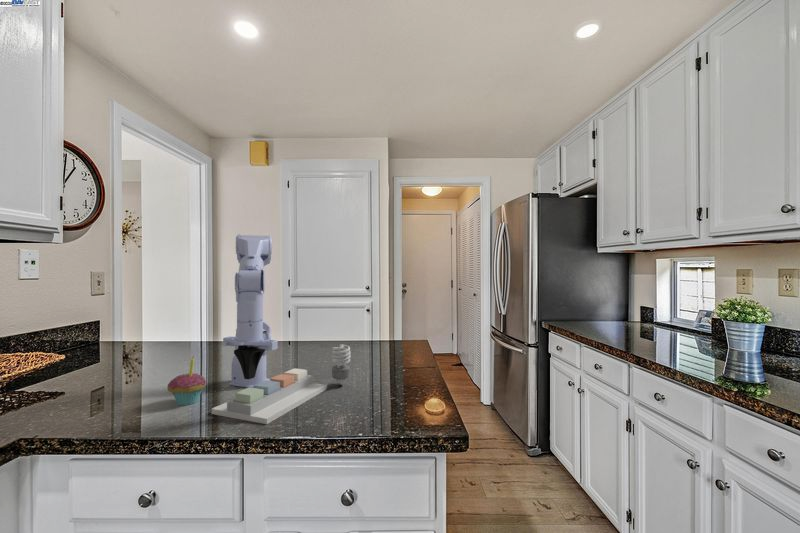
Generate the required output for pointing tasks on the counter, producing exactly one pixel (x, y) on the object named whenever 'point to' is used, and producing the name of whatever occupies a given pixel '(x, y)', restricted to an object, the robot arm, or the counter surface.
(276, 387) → the key slate
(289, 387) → the keypad
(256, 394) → the key sage
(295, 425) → the counter surface
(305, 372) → the key ivory
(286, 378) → the key terracotta
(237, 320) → the robot arm
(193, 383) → the cupcake
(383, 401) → the counter surface
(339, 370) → the light bulb
